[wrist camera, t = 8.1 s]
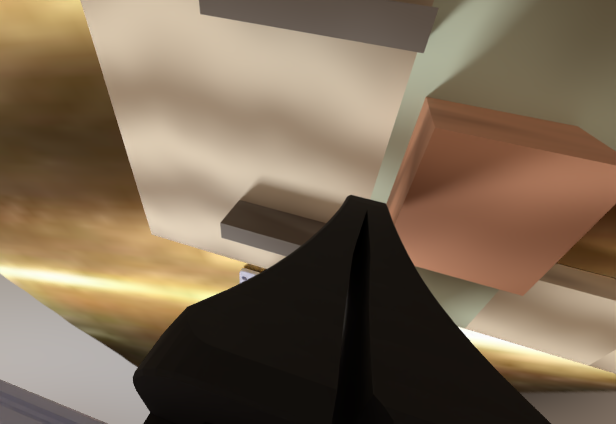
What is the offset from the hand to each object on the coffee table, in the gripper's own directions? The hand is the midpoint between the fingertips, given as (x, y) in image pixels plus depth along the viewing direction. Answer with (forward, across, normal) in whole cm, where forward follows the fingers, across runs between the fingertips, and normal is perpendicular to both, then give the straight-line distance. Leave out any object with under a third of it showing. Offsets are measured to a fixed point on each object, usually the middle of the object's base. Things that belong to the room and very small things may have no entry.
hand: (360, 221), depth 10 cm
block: (+5, -4, 0) cm, 7 cm away
